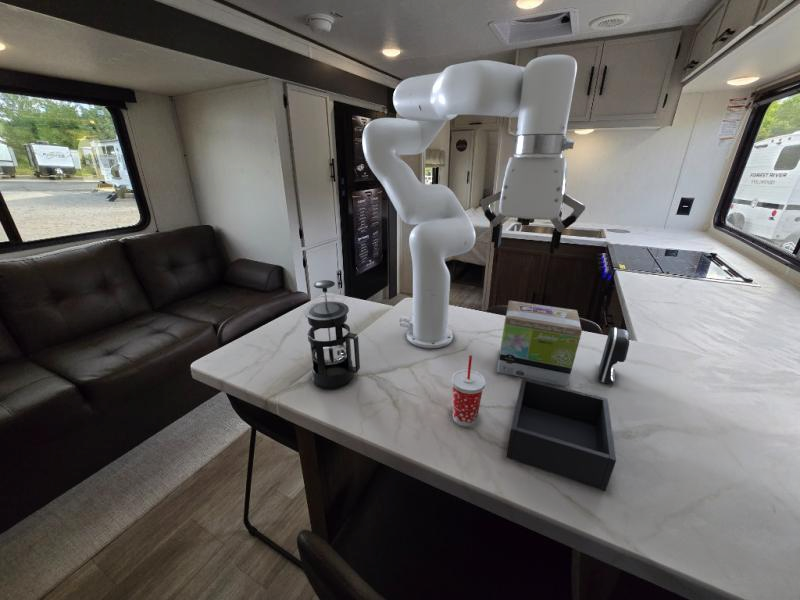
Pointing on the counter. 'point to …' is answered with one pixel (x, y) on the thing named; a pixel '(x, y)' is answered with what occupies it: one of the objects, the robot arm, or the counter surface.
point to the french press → (331, 342)
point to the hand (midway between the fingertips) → (523, 249)
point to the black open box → (563, 433)
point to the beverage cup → (467, 395)
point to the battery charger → (613, 354)
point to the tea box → (539, 342)
